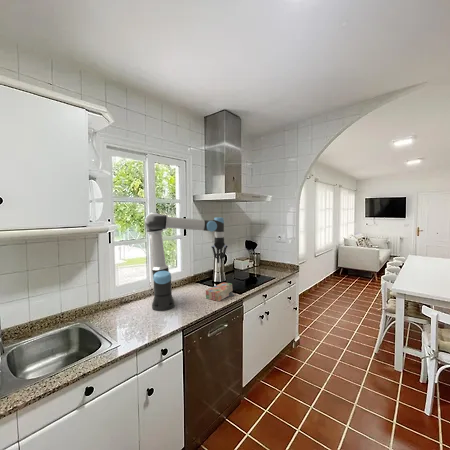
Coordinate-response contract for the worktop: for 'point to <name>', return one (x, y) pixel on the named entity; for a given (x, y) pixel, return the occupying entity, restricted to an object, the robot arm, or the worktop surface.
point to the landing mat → (230, 294)
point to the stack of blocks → (219, 291)
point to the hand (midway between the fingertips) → (219, 266)
